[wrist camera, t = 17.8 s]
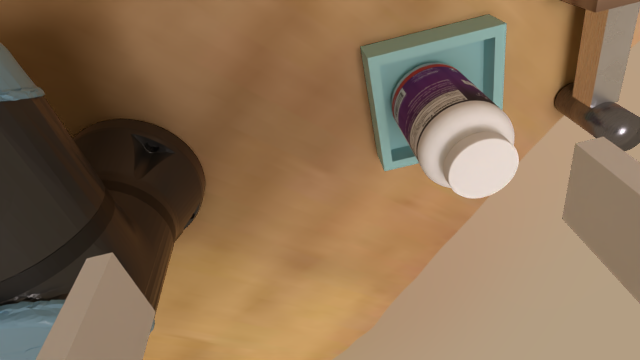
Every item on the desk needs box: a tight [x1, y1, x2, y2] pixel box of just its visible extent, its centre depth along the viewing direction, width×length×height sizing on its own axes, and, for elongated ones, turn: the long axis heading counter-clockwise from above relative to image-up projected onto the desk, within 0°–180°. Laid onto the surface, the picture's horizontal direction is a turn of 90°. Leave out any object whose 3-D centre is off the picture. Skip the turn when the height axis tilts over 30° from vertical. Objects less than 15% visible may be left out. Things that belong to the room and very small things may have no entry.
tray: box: [360, 14, 507, 171], centre depth 43 cm, size 13×13×4 cm
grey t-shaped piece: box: [555, 2, 640, 151], centre depth 39 cm, size 17×4×9 cm, turn 12°
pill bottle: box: [391, 62, 519, 198], centre depth 37 cm, size 8×8×14 cm
